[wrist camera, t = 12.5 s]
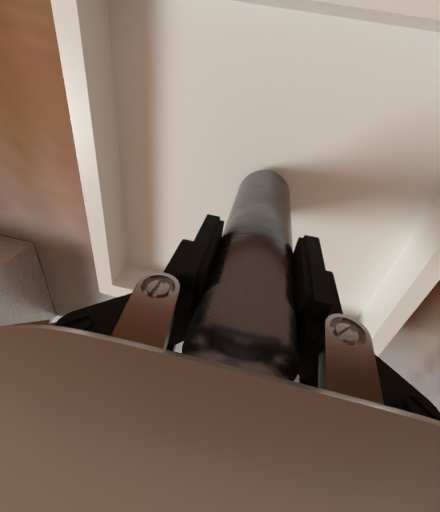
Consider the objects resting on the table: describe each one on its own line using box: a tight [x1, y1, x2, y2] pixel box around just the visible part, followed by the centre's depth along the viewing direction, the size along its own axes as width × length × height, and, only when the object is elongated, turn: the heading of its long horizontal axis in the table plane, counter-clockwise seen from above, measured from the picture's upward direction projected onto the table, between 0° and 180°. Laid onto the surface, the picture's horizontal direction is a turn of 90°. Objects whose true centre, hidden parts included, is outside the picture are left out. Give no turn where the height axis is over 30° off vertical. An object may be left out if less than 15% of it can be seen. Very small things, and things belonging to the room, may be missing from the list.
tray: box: [51, 0, 440, 356], centre depth 17 cm, size 22×20×4 cm
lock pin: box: [182, 170, 299, 381], centre depth 12 cm, size 3×3×12 cm
